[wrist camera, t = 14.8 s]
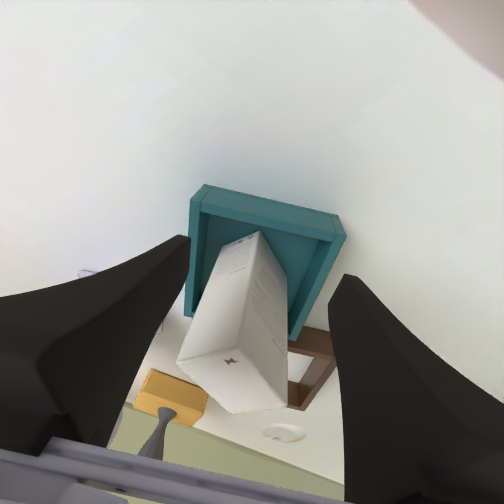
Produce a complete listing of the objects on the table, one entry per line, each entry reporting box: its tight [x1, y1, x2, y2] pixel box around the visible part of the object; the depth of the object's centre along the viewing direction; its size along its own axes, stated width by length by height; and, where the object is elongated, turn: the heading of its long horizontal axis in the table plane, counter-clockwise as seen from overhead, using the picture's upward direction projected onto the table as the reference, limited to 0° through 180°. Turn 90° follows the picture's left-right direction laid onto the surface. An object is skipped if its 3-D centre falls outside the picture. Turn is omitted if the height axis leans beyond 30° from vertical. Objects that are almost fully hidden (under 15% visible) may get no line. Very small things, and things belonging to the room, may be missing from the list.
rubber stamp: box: [133, 369, 208, 461], centre depth 34 cm, size 10×6×12 cm, turn 62°
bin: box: [184, 184, 347, 341], centre depth 22 cm, size 12×13×4 cm
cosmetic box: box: [175, 231, 288, 414], centre depth 18 cm, size 6×4×12 cm
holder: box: [287, 326, 337, 411], centre depth 30 cm, size 13×13×3 cm
